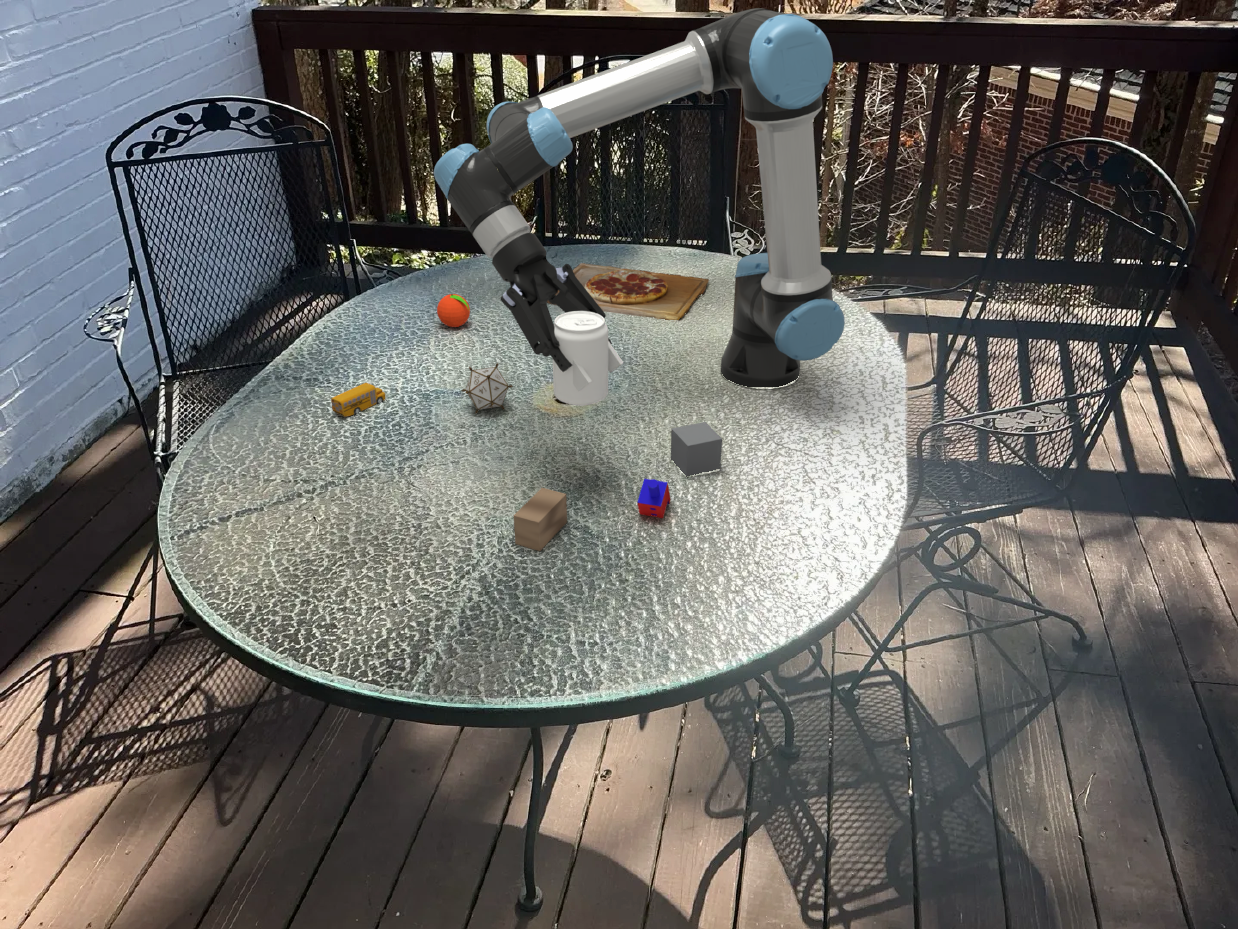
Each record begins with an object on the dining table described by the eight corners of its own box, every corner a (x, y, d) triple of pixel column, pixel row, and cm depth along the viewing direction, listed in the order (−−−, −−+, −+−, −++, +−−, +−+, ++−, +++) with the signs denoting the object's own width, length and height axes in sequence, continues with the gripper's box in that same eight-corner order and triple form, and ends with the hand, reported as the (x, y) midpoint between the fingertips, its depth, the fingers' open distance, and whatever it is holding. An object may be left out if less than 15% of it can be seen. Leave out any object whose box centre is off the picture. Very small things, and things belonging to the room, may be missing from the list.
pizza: (533, 307, 211) (532, 292, 209) (575, 267, 234) (575, 253, 232) (684, 326, 202) (685, 310, 200) (713, 282, 225) (713, 268, 223)
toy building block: (641, 520, 141) (634, 493, 134) (648, 496, 143) (642, 468, 136) (664, 524, 140) (658, 496, 133) (670, 499, 142) (665, 472, 135)
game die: (496, 430, 169) (500, 405, 160) (453, 411, 169) (454, 385, 159) (516, 390, 173) (521, 364, 164) (473, 372, 172) (477, 344, 163)
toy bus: (387, 400, 171) (384, 381, 169) (344, 421, 164) (341, 401, 162) (375, 396, 173) (372, 377, 171) (332, 416, 166) (329, 396, 164)
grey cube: (703, 453, 154) (705, 421, 151) (720, 471, 150) (722, 438, 147) (670, 460, 153) (671, 428, 149) (686, 478, 148) (687, 445, 145)
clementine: (481, 325, 201) (479, 293, 197) (460, 335, 196) (457, 303, 192) (453, 317, 205) (450, 286, 201) (431, 327, 200) (428, 296, 196)
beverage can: (552, 384, 142) (550, 310, 136) (606, 382, 143) (605, 308, 137) (554, 409, 135) (552, 332, 129) (610, 407, 136) (610, 330, 130)
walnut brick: (543, 516, 139) (542, 487, 136) (567, 522, 137) (566, 494, 135) (515, 544, 133) (513, 515, 130) (540, 552, 131) (538, 522, 129)
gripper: (542, 242, 145) (626, 365, 145) (450, 278, 131) (543, 413, 132) (568, 214, 140) (655, 342, 140) (475, 249, 126) (572, 390, 126)
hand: (601, 376), depth 136 cm, fingers closed on beverage can, 7 cm apart
